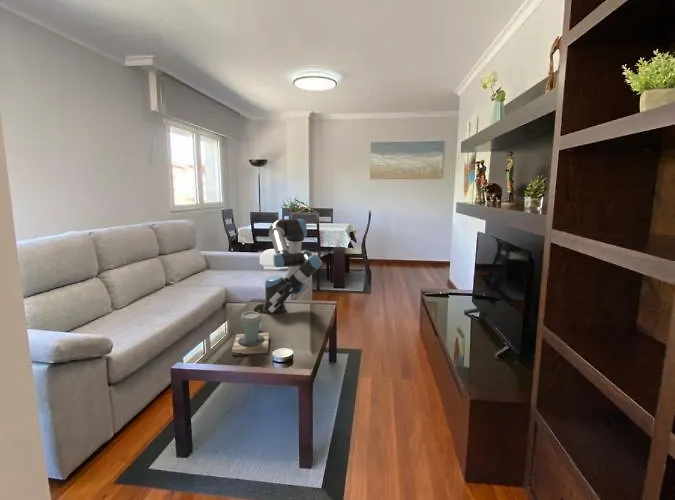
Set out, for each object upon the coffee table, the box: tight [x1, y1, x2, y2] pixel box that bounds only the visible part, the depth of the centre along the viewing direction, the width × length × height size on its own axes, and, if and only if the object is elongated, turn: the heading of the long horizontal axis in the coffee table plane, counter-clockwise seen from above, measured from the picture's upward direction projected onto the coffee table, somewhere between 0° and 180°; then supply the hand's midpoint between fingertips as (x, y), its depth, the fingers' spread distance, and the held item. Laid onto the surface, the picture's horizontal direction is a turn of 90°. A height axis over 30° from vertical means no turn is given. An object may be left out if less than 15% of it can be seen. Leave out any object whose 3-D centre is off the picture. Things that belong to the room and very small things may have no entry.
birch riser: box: [231, 332, 270, 355], centre depth 195 cm, size 18×18×3 cm
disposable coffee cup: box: [240, 310, 262, 342], centre depth 194 cm, size 11×11×15 cm
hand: (270, 306), depth 193 cm, fingers open, 13 cm apart
